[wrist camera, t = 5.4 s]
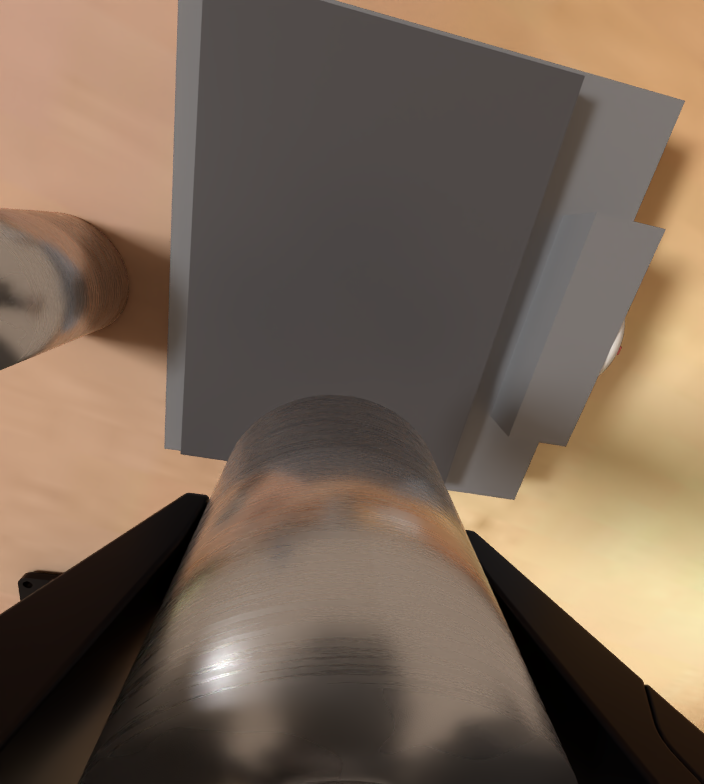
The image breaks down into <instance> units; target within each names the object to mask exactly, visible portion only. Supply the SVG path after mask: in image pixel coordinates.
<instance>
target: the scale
mask: <svg viewBox="0 0 704 784" xmlns="http://www.w3.org/2000/svg"><path fill="white" fill-rule="evenodd" d="M684 102H685V101H684V100H680V99H677V98H673V97H670V96H666V95H663V94H659V93H656V92H653V91H649V90H646V89H642V88H639V87H635V86H632V85H628V84H625V83H621V82H618V81H614V80H611V79H607V78H604V77H600V76H597V75H593V74H590V73H586V72H583V71H579V70H576V69H572V68H569V67H565V66H562V65H558V64H555V63H551V62H548V61H544V60H541V59H538V58H534V57H531V56H527V55H524V54H520V53H517V52H513V51H510V50H506V49H503V48H499V47H496V46H492V45H489V44H485V43H482V42H478V41H475V40H471V39H468V38H464V37H461V36H457V35H454V34H450V33H447V32H443V31H440V30H436V29H433V28H429V27H426V26H423V25H419V24H416V23H412V22H409V21H405V20H402V19H398V18H395V17H391V16H388V15H384V14H381V13H377V12H374V11H370V10H367V9H363V8H360V7H356V6H353V5H349V4H346V3H342V2H339V1H335V0H178V25H177V57H176V90H175V122H174V155H173V188H172V220H171V253H170V285H169V318H168V350H167V383H166V415H165V449H172V450H179V451H181V454H183V455H190V456H197V457H203V458H210V459H217V460H224V461H228V459H229V457H230V455H231V453H232V451H233V449H234V447H235V445H236V443H237V442H238V440H239V439H240V438H241V436H242V435H243V434H244V432H245V431H246V430H247V429H248V428H249V427H250V426H251V425H252V424H253V423H254V422H256V421H257V420H258V419H260V418H261V417H262V416H264V415H265V414H266V413H268V412H270V411H272V410H273V409H275V408H277V407H279V406H281V405H284V404H286V403H289V402H291V401H295V400H298V399H302V398H306V397H312V396H319V395H343V396H353V397H357V398H361V399H366V400H369V401H372V402H374V403H377V404H380V405H382V406H384V407H386V408H388V409H390V410H392V411H394V412H395V413H396V414H398V415H399V416H401V417H402V418H403V419H405V420H406V421H407V422H408V423H409V424H410V425H411V426H412V427H413V428H415V430H416V431H417V432H418V433H419V435H420V436H421V437H422V438H423V440H424V442H425V444H426V445H427V447H428V449H429V451H430V453H431V455H432V457H433V460H434V462H435V464H436V466H437V469H438V471H439V473H440V475H441V477H442V480H443V482H444V484H445V486H446V489H447V490H451V491H458V492H464V493H471V494H478V495H485V496H492V497H498V498H505V499H512V500H514V499H515V497H516V495H517V492H518V490H519V488H520V485H521V483H522V481H523V478H524V476H525V474H526V471H527V469H528V467H529V464H530V462H531V460H532V457H533V455H534V453H535V450H536V448H537V446H538V443H539V442H541V443H547V444H553V445H559V446H565V447H566V445H567V443H568V441H569V439H570V437H571V434H572V432H573V430H574V428H575V426H576V423H577V421H578V419H579V417H580V415H581V413H582V410H583V408H584V406H585V404H586V402H587V399H588V397H589V395H590V393H591V391H592V389H593V386H594V384H595V382H596V380H597V378H598V376H599V375H600V374H601V373H602V372H604V371H605V369H606V368H607V367H608V366H609V365H610V364H611V362H612V361H613V359H614V358H615V356H616V354H617V355H618V354H619V352H620V350H621V348H622V347H621V346H620V345H621V342H622V339H623V335H624V329H625V317H626V314H627V312H628V310H629V308H630V306H631V304H632V301H633V299H634V297H635V295H636V293H637V290H638V288H639V286H640V284H641V282H642V280H643V277H644V275H645V273H646V271H647V269H648V267H649V264H650V262H651V260H652V258H653V256H654V253H655V251H656V249H657V247H658V245H659V243H660V240H661V238H662V236H663V234H664V232H665V229H663V228H659V227H654V226H650V225H646V224H642V223H638V222H634V219H635V217H636V214H637V212H638V210H639V207H640V205H641V203H642V200H643V198H644V196H645V193H646V191H647V189H648V186H649V184H650V182H651V179H652V177H653V175H654V172H655V170H656V168H657V165H658V163H659V161H660V158H661V156H662V154H663V151H664V149H665V147H666V144H667V142H668V140H669V137H670V135H671V133H672V130H673V128H674V126H675V123H676V121H677V119H678V116H679V114H680V111H681V109H682V107H683V104H684Z"/></svg>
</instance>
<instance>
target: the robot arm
mask: <svg viewBox="0 0 704 784" xmlns="http://www.w3.org/2000/svg"><path fill="white" fill-rule="evenodd" d="M208 502H209V497H208V496H207V495H202V494H195V493H186V494H184V495H183V496H181V497H179V498H178V499H176V500H175V501H173V502H172V503H170V504H169V505H167V506H166V507H164V508H163V509H161V510H159V511H158V512H156V513H155V514H153V515H152V516H150V517H149V518H147V519H146V520H144V521H143V522H141V523H140V524H138V525H136V526H135V527H133V528H132V529H130V530H129V531H127V532H126V533H124V534H123V535H121V536H120V537H118V538H117V539H115V540H113V541H112V542H110V543H109V544H107V545H106V546H104V547H103V548H101V549H100V550H98V551H97V552H95V553H93V554H92V555H90V556H89V557H87V558H86V559H84V560H83V561H81V562H80V563H78V564H77V565H75V566H74V567H72V568H70V569H69V570H67V571H66V572H64V573H63V574H61V575H53V574H44V573H34V572H28V573H25V575H24V576H23V577H22V578H21V579H20V580H19V581H18V587H19V594H20V602H18V603H17V604H15V605H14V606H12V607H11V608H9V609H8V610H6V611H4V612H3V613H1V614H0V784H78V782H79V780H80V778H81V775H82V773H83V771H84V769H85V767H86V765H87V762H88V760H89V758H90V756H91V754H92V752H93V750H94V747H95V745H96V743H97V741H98V739H99V737H100V734H101V732H102V730H103V728H104V726H105V724H106V722H107V719H108V717H109V715H110V713H111V711H112V709H113V706H114V704H115V702H116V700H117V698H118V696H119V694H120V691H121V689H122V687H123V685H124V683H125V681H126V678H127V676H128V674H129V672H130V670H131V668H132V666H133V663H134V661H135V659H136V657H137V655H138V653H139V651H140V648H141V646H142V644H143V642H144V640H145V638H146V635H147V633H148V631H149V629H150V627H151V625H152V623H153V620H154V618H155V616H156V614H157V612H158V610H159V607H160V605H161V603H162V601H163V599H164V597H165V595H166V592H167V590H168V588H169V586H170V584H171V582H172V579H173V577H174V575H175V573H176V571H177V569H178V567H179V564H180V562H181V560H182V558H183V556H184V554H185V552H186V549H187V547H188V545H189V543H190V541H191V539H192V536H193V534H194V532H195V530H196V528H197V526H198V524H199V521H200V519H201V517H202V515H203V513H204V511H205V508H206V506H207V504H208ZM465 531H466V533H467V535H468V538H469V540H470V542H471V544H472V547H473V549H474V551H475V553H476V555H477V558H478V560H479V562H480V564H481V567H482V569H483V571H484V573H485V576H486V578H487V580H488V582H489V584H490V587H491V589H492V591H493V593H494V596H495V598H496V600H497V602H498V605H499V607H500V609H501V611H502V613H503V616H504V618H505V620H506V622H507V625H508V627H509V629H510V631H511V634H512V636H513V638H514V640H515V642H516V645H517V647H518V649H519V651H520V654H521V656H522V658H523V660H524V663H525V665H526V667H527V669H528V671H529V674H530V676H531V678H532V680H533V683H534V685H535V687H536V689H537V691H538V694H539V696H540V698H541V700H542V703H543V705H544V707H545V709H546V712H547V714H548V716H549V718H550V720H551V723H552V725H553V727H554V729H555V732H556V734H557V736H558V738H559V741H560V743H561V745H562V747H563V749H564V752H565V754H566V756H567V758H568V761H569V763H570V765H571V767H572V770H573V772H574V774H575V776H576V779H577V782H578V784H704V733H703V732H702V731H700V730H699V729H698V728H697V727H696V726H695V725H694V724H692V723H691V722H690V721H689V720H688V719H687V718H685V717H684V716H683V715H682V714H681V713H680V712H678V711H677V710H676V709H675V708H674V707H673V706H672V705H670V704H669V703H668V702H667V701H666V700H665V699H664V698H663V697H661V696H660V695H659V694H658V693H657V692H656V691H655V690H654V689H652V688H651V687H650V686H649V685H644V682H643V680H642V679H641V678H640V677H639V676H637V675H636V674H635V673H634V672H633V671H632V670H631V669H630V668H628V667H627V666H626V665H625V664H624V663H623V662H622V661H620V660H619V659H618V658H617V657H616V656H615V655H614V654H613V653H611V652H610V651H609V650H608V649H607V648H606V647H605V646H604V645H602V644H601V643H600V642H599V641H598V640H597V639H596V638H594V637H593V636H592V635H591V634H590V633H589V632H588V631H587V630H585V629H584V628H583V627H582V626H581V625H580V624H579V623H577V622H576V621H575V620H574V619H573V618H572V617H571V616H570V615H568V614H567V613H566V612H565V611H564V610H563V609H562V608H560V607H559V606H558V605H557V604H556V603H555V602H554V601H553V600H551V599H550V598H549V597H548V596H547V595H546V594H545V593H543V592H542V591H541V590H540V589H539V588H538V587H537V586H536V585H534V584H533V583H532V582H531V581H530V580H529V579H528V578H527V577H525V576H524V575H523V574H522V573H521V572H520V571H519V570H517V569H516V568H515V567H514V566H513V565H512V564H511V563H510V562H508V561H507V560H506V559H505V558H504V557H503V556H502V555H500V554H499V553H498V552H497V551H496V550H495V549H494V548H493V547H491V546H490V545H489V544H488V543H487V542H486V541H485V540H483V539H482V538H481V537H480V536H479V535H478V534H477V533H475V532H474V531H470V530H465Z"/></svg>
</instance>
